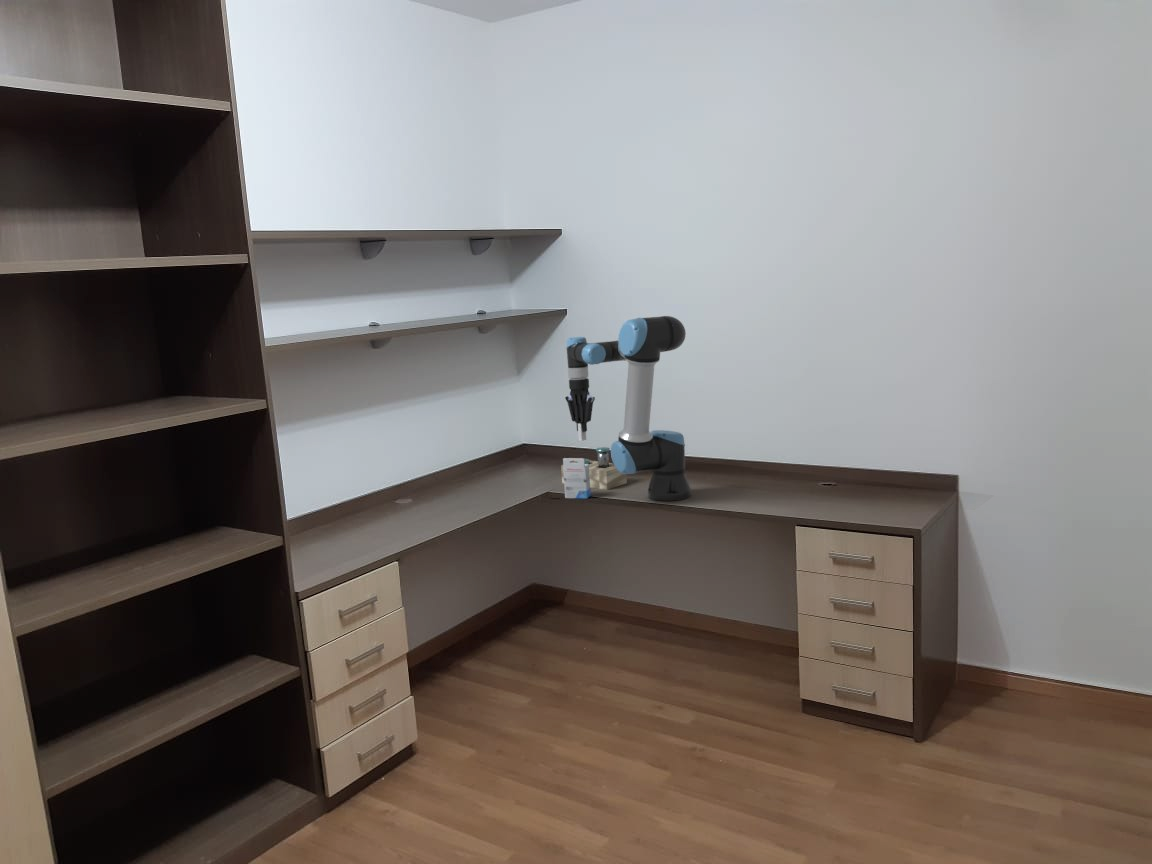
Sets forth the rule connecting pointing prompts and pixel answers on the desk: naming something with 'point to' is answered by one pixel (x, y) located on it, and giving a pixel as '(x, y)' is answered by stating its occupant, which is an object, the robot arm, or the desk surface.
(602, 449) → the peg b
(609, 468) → the socket block
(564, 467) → the ink box
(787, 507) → the desk surface
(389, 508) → the desk surface
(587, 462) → the teal lidded jar
